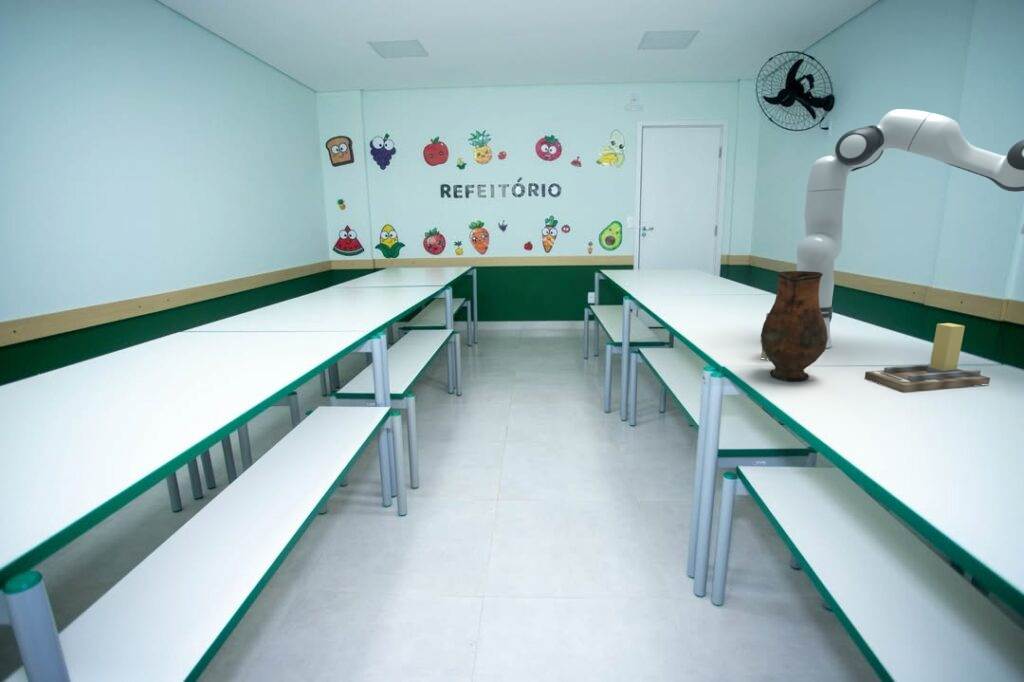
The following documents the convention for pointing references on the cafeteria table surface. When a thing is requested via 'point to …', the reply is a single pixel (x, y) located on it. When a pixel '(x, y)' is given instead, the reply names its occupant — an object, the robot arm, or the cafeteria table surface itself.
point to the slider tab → (946, 348)
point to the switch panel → (924, 378)
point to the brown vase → (795, 326)
